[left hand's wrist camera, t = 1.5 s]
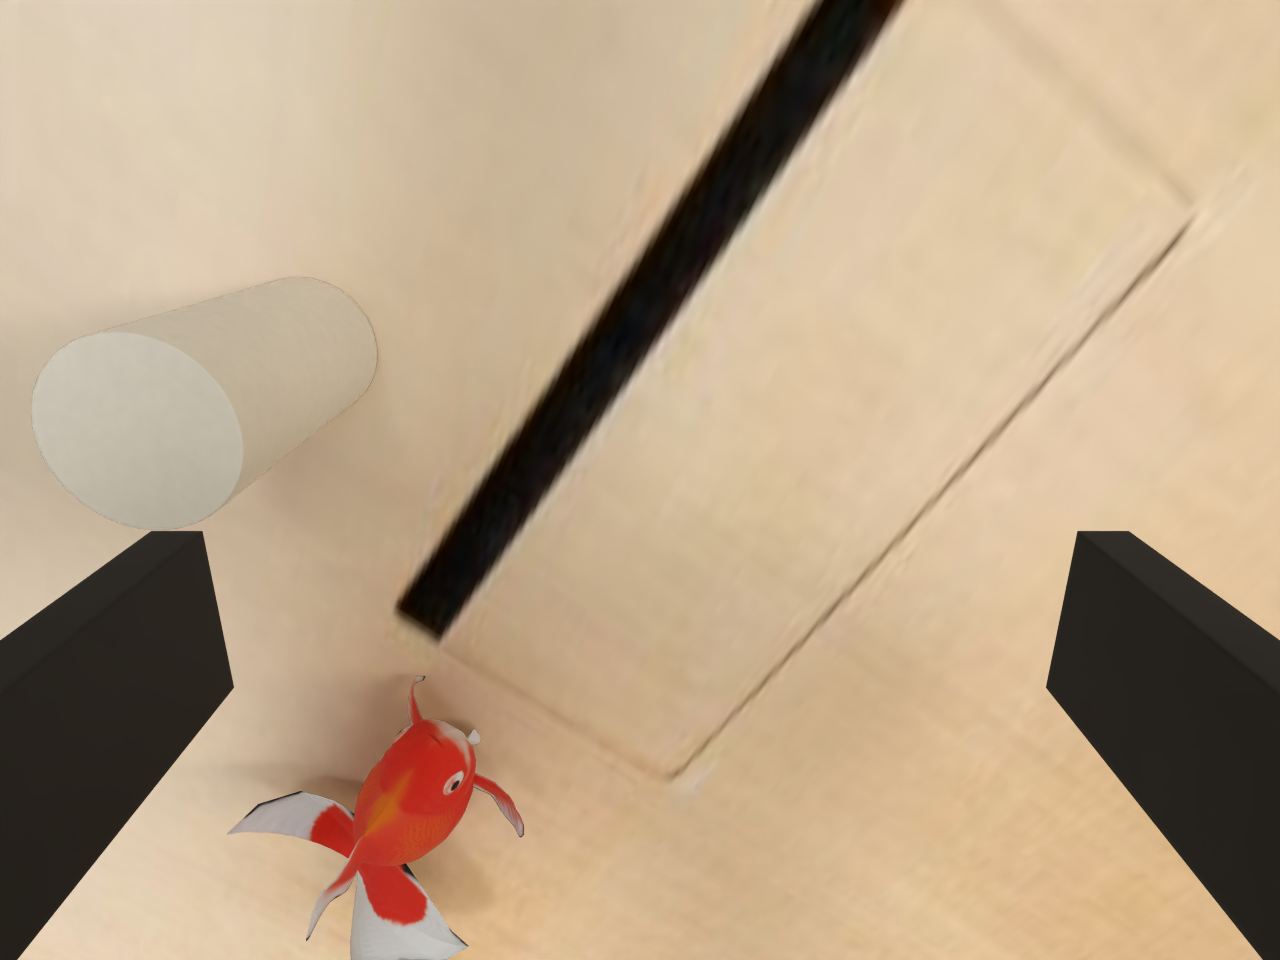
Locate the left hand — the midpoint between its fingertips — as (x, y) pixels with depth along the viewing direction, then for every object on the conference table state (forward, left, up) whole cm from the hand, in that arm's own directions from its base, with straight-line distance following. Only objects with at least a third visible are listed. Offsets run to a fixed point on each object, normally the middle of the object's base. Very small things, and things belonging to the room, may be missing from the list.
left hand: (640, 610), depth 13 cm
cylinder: (-4, -12, -20) cm, 24 cm away
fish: (+17, -16, -20) cm, 31 cm away
